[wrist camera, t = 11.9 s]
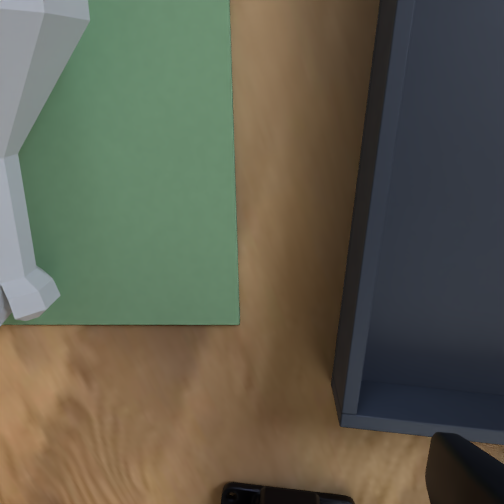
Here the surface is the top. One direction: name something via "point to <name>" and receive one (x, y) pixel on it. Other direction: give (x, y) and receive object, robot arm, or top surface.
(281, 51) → the top surface
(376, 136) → the roasting tin
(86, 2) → the chicken leg
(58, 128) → the napkin
